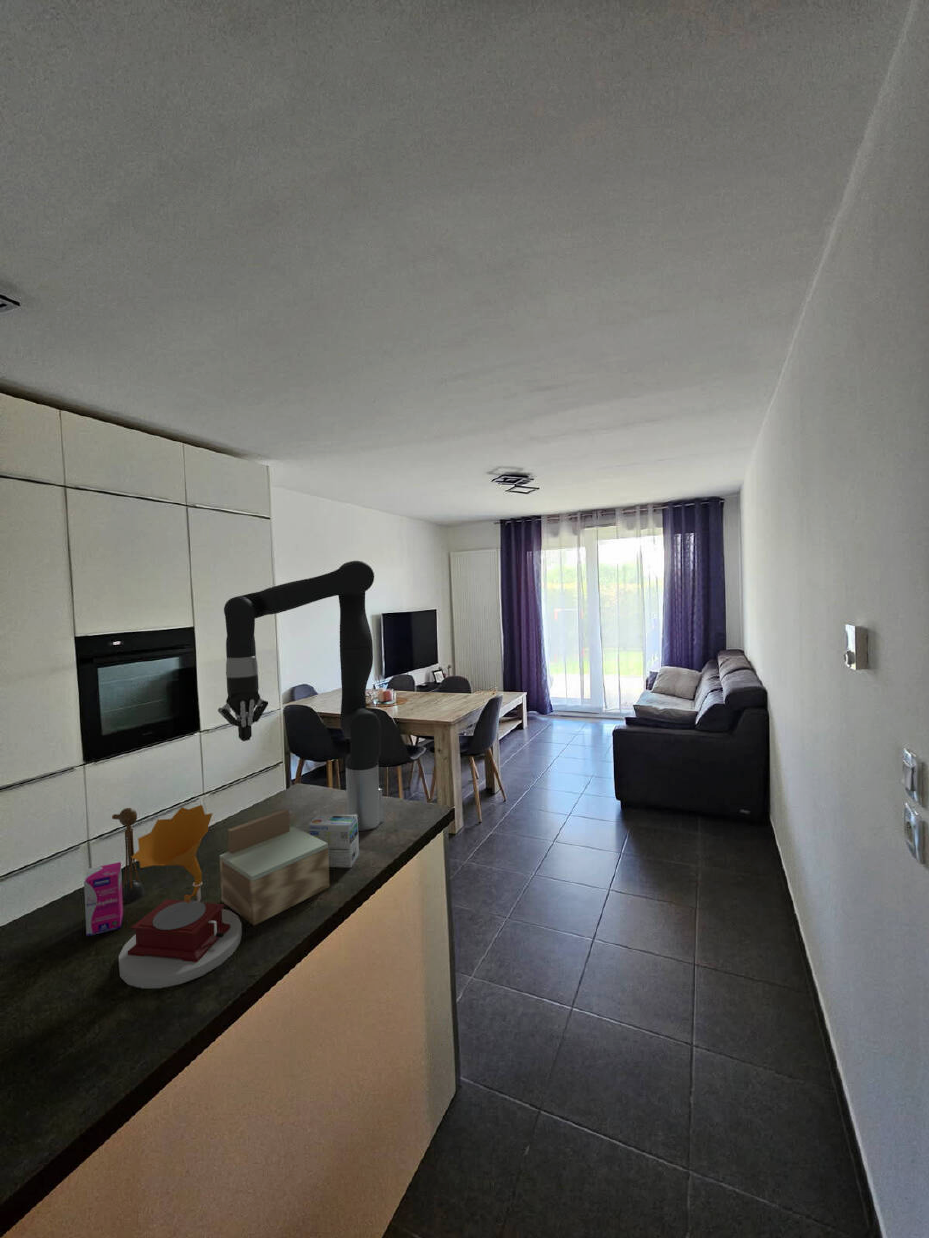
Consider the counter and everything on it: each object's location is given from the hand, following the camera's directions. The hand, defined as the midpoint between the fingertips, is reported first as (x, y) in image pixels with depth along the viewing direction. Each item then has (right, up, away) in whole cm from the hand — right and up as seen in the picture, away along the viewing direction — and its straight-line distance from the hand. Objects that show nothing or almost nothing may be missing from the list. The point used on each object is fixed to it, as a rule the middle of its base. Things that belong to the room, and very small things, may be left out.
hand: (245, 740), depth 139 cm
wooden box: (+15, -30, -20) cm, 39 cm away
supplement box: (-16, -31, -30) cm, 46 cm away
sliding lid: (+15, -20, -21) cm, 33 cm away
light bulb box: (+25, -29, -6) cm, 38 cm away
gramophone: (+4, -31, -38) cm, 49 cm away
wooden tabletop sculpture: (-17, -30, -20) cm, 40 cm away
